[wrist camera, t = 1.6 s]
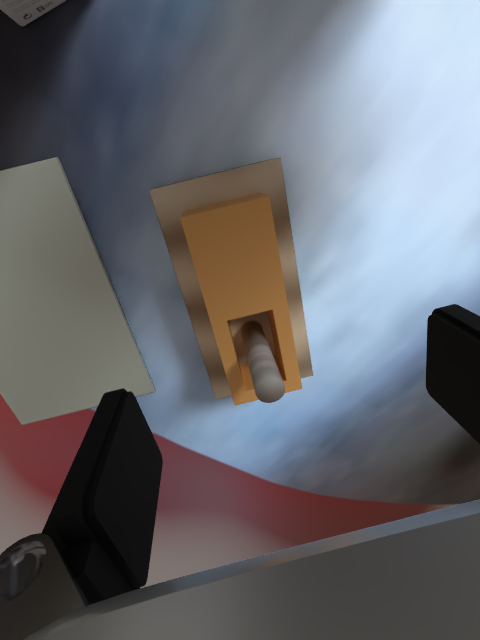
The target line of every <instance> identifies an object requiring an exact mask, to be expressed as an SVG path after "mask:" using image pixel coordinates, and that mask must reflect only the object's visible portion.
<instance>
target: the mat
mask: <svg viewBox="0 0 480 640" xmlns="http://www.w3.org/2000/svg"><path fill="white" fill-rule="evenodd" d="M122 388H124V389H125V390H126V391H127V392H129V391H132V392H133V394H134V395H135V397H136V396H140V395H144V394H148V393H152V392H155V387H154V385H153V383H152V380H151V378H150V375H149V373H148V371H147V368H146V366H145V363H144V361H143V359H142V356H141V354H140V351H139V349H138V347H137V344H136V342H135V339H134V337H133V335H132V332H131V330H130V327H129V325H128V323H127V320H126V318H125V315H124V313H123V311H122V308H121V306H120V304H119V301H118V299H117V296H116V294H115V292H114V289H113V287H112V284H111V282H110V280H109V277H108V275H107V272H106V270H105V268H104V265H103V263H102V260H101V258H100V256H99V253H98V251H97V248H96V246H95V244H94V241H93V239H92V236H91V234H90V232H89V229H88V227H87V224H86V222H85V220H84V217H83V215H82V213H81V210H80V208H79V205H78V203H77V201H76V198H75V196H74V193H73V191H72V189H71V186H70V184H69V181H68V179H67V177H66V174H65V172H64V169H63V167H62V165H61V162H60V160H59V157H55V158H51V159H47V160H42V161H38V162H34V163H30V164H26V165H22V166H18V167H14V168H10V169H6V170H2V171H0V394H1V395H2V397H3V398H4V400H5V401H6V403H7V404H8V406H9V407H10V409H11V410H12V411H13V413H14V414H15V416H16V417H17V419H18V420H19V422H20V423H21V425H24V424H28V423H32V422H36V421H40V420H44V419H48V418H52V417H56V416H60V415H64V414H68V413H72V412H76V411H80V410H84V409H88V408H92V407H96V406H98V405H99V403H100V401H101V398H102V396H103V394H104V393H106V392H110V391H114V390H118V389H122Z"/></svg>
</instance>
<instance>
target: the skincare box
mask: <svg viewBox="0 0 480 640" xmlns="http://www.w3.org/2000/svg"><path fill="white" fill-rule="evenodd" d="M65 1H66V0H0V10H2V11H3V12H4V13H5V14H7V15H8V16H9V17H10V18H11V19H13V20H14V21H15V22H16V23H17V24H19V25H20V26H25V25H27V24H28V23H30V22H32V21H33V20H35V19H37V18H38V17H40V16H42V15H43V14H45V13H47V12H48V11H50V10H52V9H53V8H55V7H57V6H58V5H60V4H62V3H63V2H65Z"/></svg>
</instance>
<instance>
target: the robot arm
mask: <svg viewBox="0 0 480 640" xmlns="http://www.w3.org/2000/svg"><path fill="white" fill-rule="evenodd" d="M426 388H427V391H428V393H429V395H430V396H431V397H432V398H433V399H434V400H435V401H436V402H437V403H438V404H439V405H440V406H441V407H442V408H443V409H444V410H445V411H446V412H447V413H448V414H449V415H450V416H452V417H453V418H454V419H455V420H456V421H457V422H458V423H459V424H460V425H461V426H462V427H463V428H464V429H465V430H466V431H467V432H468V433H469V434H470V435H471V436H472V437H473V438H474V439H475V440H476V441H477V442H478V443H479V444H480V316H478V315H476V314H474V313H472V312H470V311H468V310H467V309H465V308H463V307H461V306H459V305H456V304H453V305H449V306H445V307H441V308H437V309H435V310H433V312H432V315H430V316H429V317H428V326H427V360H426ZM161 472H162V455H161V452H160V450H159V447H158V446H157V443H156V441H155V439H154V437H153V434H152V432H151V430H150V428H149V426H148V424H147V421H146V419H145V417H144V415H143V413H142V411H141V408H140V406H139V404H138V402H137V400H136V398H135V395H134V394H133V392H132V391H129V392H127V391H126V390H125V389H124V388H122V389H118V390H114V391H110V392H106V393H104V394H103V396H102V398H101V401H100V403H99V405H98V407H97V410H96V412H95V414H94V417H93V419H92V421H91V423H90V426H89V428H88V430H87V432H86V435H85V437H84V439H83V442H82V444H81V446H80V448H79V450H78V452H77V454H76V457H75V459H74V461H73V463H72V466H71V468H70V470H69V472H68V475H67V477H66V479H65V481H64V484H63V486H62V488H61V490H60V493H59V495H58V497H57V500H56V502H55V504H54V506H53V508H52V511H51V513H50V515H49V518H48V520H47V522H46V524H45V527H44V529H43V531H42V533H39V534H34V535H30V536H27V537H25V538H23V539H21V540H19V541H17V542H16V543H14V544H13V545H11V546H10V547H9V548H7V549H6V550H5V551H4V552H3V553H2V554H1V555H0V640H480V500H476V501H472V502H468V503H464V504H460V505H456V506H452V507H448V508H444V509H440V510H436V511H432V512H428V513H424V514H421V515H416V516H413V517H409V518H405V519H401V520H397V521H393V522H389V523H385V524H382V525H378V526H373V527H370V528H366V529H362V530H358V531H354V532H350V533H346V534H343V535H338V536H334V537H331V538H327V539H323V540H319V541H315V542H311V543H308V544H304V545H300V546H296V547H292V548H288V549H284V550H281V551H277V552H273V553H269V554H265V555H262V556H258V557H254V558H250V559H246V560H243V561H239V562H235V563H231V564H227V565H224V566H220V567H216V568H212V569H208V570H205V571H201V572H197V573H194V574H190V575H186V576H183V577H179V578H176V579H173V580H169V581H166V582H162V583H158V584H155V585H151V586H148V587H144V588H140V587H142V586H144V585H145V584H146V582H147V577H148V569H149V562H150V554H151V547H152V540H153V532H154V525H155V516H156V510H157V502H158V495H159V487H160V480H161Z"/></svg>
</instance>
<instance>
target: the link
mask: <svg viewBox="0 0 480 640" xmlns="http://www.w3.org/2000/svg"><path fill="white" fill-rule="evenodd" d="M180 219H181V223H182V226H183V230H184V233H185V236H186V240H187V243H188V247H189V250H190V253H191V257H192V260H193V264H194V267H195V271H196V274H197V277H198V281H199V284H200V288H201V291H202V295H203V298H204V301H205V305H206V308H207V312H208V315H209V319H210V322H211V325H212V329H213V332H214V336H215V339H216V342H217V346H218V349H219V353H220V356H221V360H222V363H223V366H224V370H225V373H226V377H227V380H228V384H229V387H230V390H231V394H232V397H233V401H234V404H235V405H239V404H243V403H247V402H251V401H255V400H259V399H258V398H257V396H256V394H255V389H254V385H253V381H252V377H251V373H250V369H249V365H248V364H245V365H241V366H240V362H239V359H238V355H237V351H236V347H235V343H234V340H233V336H232V332H231V328H230V325H229V321H228V320H232V319H236V318H240V317H245V316H249V315H253V314H257V313H261V312H265V311H268V316H269V321H270V326H271V331H272V336H273V341H274V345H275V350H276V355H277V357H274V360H275V362H276V365H277V367H278V370H279V373H280V375H281V378H282V380H283V383H284V386H285V392H284V393H287V392H291V391H295V390H299V389H302V384H301V378H300V372H299V367H298V361H297V355H296V349H295V343H294V337H293V332H292V326H291V320H290V314H289V308H288V302H287V296H286V291H285V285H284V279H283V273H282V267H281V261H280V256H279V250H278V244H277V238H276V232H275V226H274V221H273V215H272V209H271V203H270V197H269V196H268V195H265V194H263V193H260V192H259V193H255V194H251V195H247V196H243V197H239V198H235V199H231V200H227V201H222V202H218V203H214V204H210V205H206V206H202V207H198V208H194V209H190V210H186V211H183V213H182V215H181V217H180Z"/></svg>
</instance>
